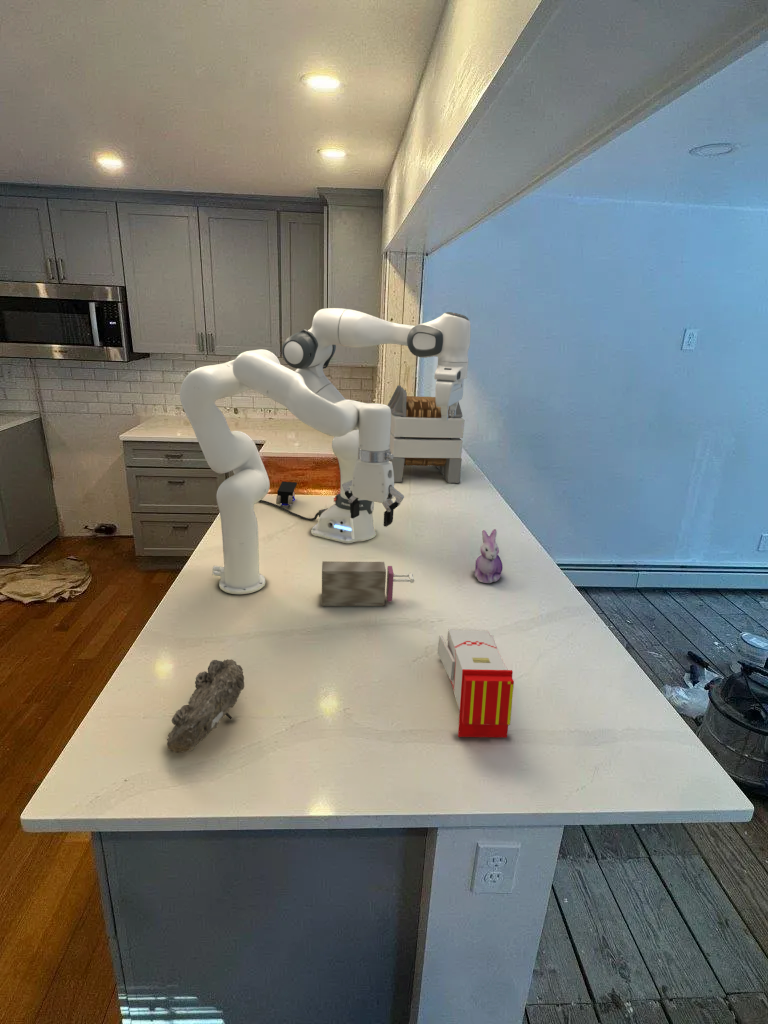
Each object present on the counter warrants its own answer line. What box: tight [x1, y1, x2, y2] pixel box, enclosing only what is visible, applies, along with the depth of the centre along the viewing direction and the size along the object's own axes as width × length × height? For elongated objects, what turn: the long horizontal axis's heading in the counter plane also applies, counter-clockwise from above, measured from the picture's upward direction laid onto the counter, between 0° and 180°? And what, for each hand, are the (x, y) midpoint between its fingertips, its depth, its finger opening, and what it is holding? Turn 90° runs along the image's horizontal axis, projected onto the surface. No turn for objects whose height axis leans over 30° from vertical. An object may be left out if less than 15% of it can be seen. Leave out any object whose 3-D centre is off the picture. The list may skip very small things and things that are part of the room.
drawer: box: [385, 565, 415, 602], centre depth 152 cm, size 21×5×8 cm, turn 95°
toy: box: [437, 628, 515, 738], centre depth 117 cm, size 12×13×30 cm
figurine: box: [474, 528, 503, 584], centre depth 167 cm, size 9×10×15 cm
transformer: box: [386, 384, 465, 484], centre depth 268 cm, size 34×33×41 cm
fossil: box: [166, 658, 245, 754], centre depth 106 cm, size 22×10×15 cm
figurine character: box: [275, 480, 298, 509], centre depth 223 cm, size 7×8×15 cm
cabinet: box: [321, 560, 387, 607], centre depth 152 cm, size 17×6×10 cm, turn 95°
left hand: (371, 520), depth 144 cm, fingers open, 9 cm apart
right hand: (448, 418), depth 171 cm, fingers open, 8 cm apart
